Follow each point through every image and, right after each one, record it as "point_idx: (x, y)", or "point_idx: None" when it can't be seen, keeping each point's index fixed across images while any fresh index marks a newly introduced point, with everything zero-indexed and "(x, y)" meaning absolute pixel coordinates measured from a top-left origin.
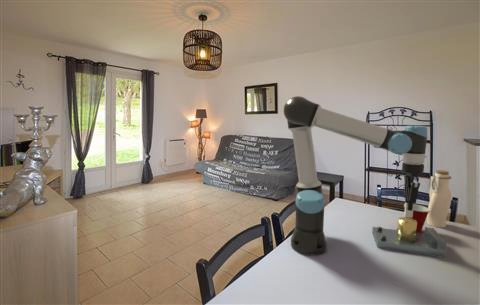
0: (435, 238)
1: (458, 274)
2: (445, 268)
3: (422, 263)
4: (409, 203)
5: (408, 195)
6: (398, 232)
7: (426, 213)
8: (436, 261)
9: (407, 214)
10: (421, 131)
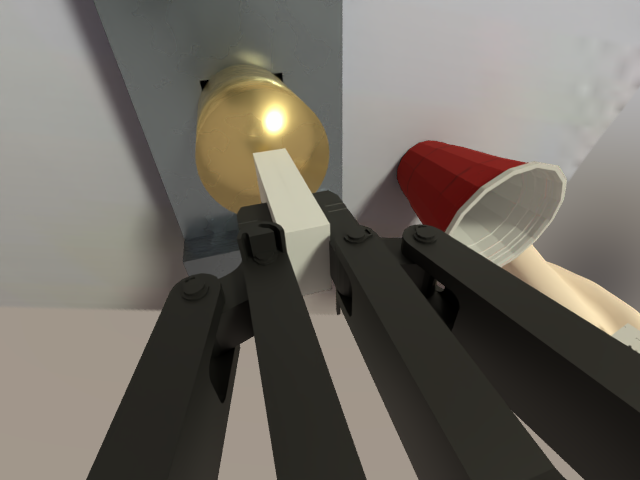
0: (226, 256)
1: (65, 273)
2: (83, 241)
3: (51, 164)
4: (240, 265)
5: (257, 351)
6: (224, 75)
7: None
8: (130, 218)
9: (258, 180)
10: None
